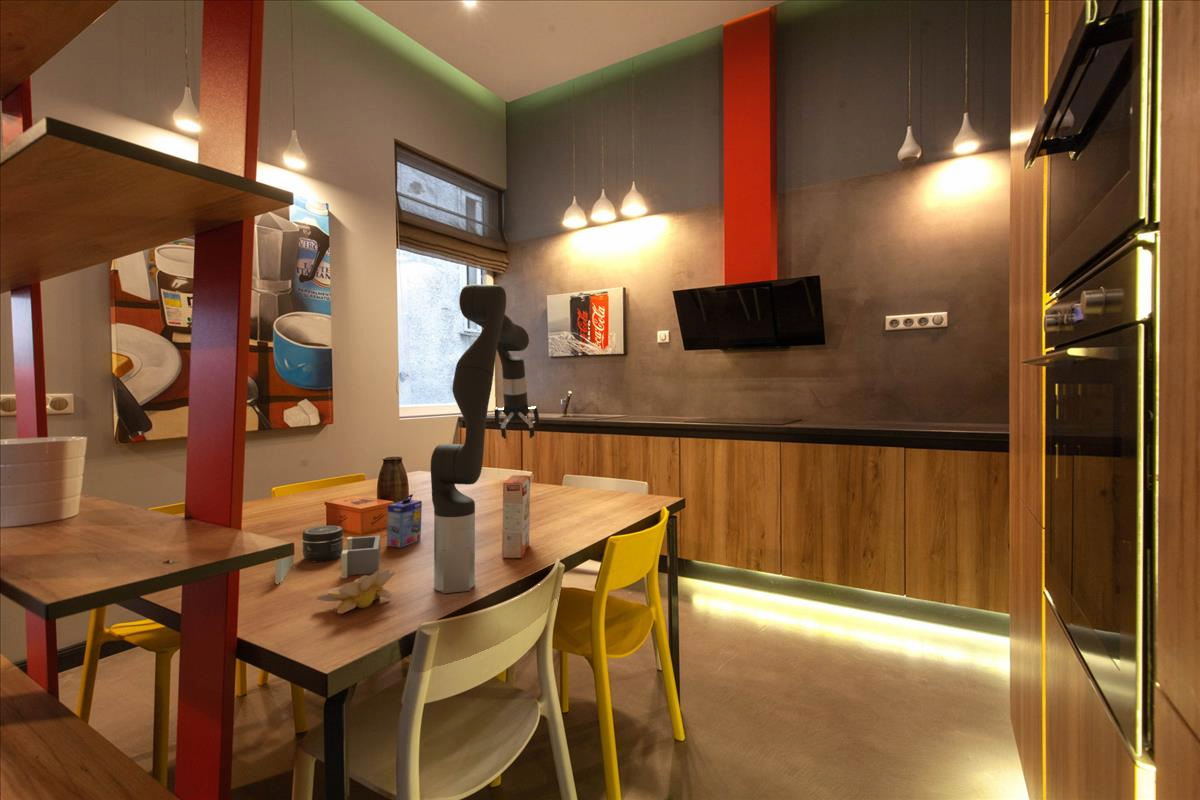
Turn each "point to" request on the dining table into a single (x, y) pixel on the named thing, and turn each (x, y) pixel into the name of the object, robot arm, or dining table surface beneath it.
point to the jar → (322, 543)
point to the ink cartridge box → (404, 522)
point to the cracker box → (516, 516)
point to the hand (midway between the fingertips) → (518, 437)
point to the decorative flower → (359, 591)
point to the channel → (346, 558)
